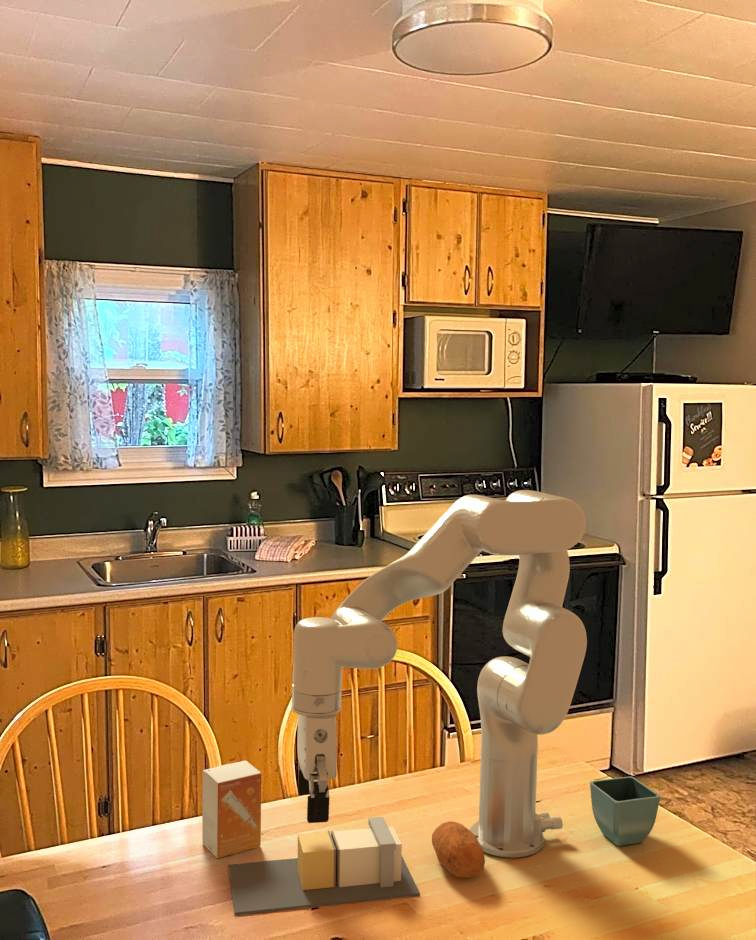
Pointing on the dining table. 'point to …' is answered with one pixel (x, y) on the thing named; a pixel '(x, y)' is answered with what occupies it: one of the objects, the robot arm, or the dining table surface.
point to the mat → (282, 888)
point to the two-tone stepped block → (368, 855)
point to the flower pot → (624, 809)
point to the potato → (458, 849)
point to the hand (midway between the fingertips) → (312, 807)
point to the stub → (316, 860)
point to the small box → (231, 808)
